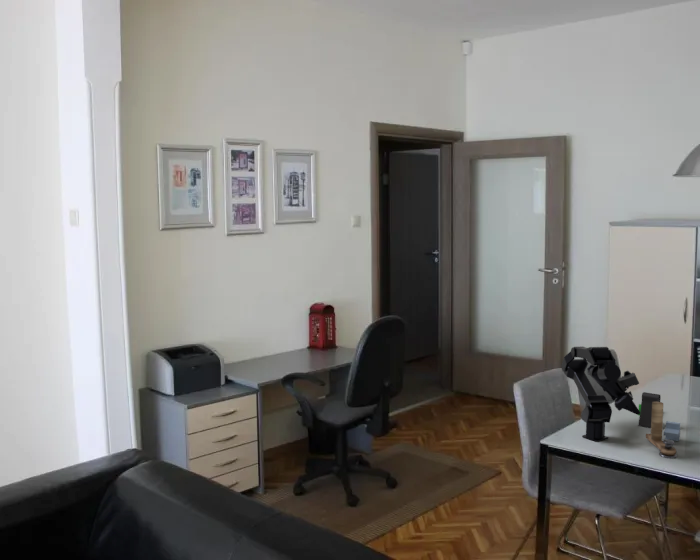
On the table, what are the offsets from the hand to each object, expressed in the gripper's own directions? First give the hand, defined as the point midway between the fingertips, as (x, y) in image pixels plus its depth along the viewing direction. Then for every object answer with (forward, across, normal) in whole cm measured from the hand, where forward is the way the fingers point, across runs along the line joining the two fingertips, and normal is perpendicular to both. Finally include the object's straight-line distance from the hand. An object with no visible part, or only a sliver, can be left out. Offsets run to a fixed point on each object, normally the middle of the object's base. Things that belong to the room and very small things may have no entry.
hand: (639, 413), depth 250 cm
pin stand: (+14, -10, +2) cm, 17 cm away
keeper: (+16, +6, -1) cm, 17 cm away
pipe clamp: (+13, +38, +3) cm, 40 cm away
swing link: (+12, -3, +2) cm, 12 cm away
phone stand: (+13, +25, +3) cm, 28 cm away
